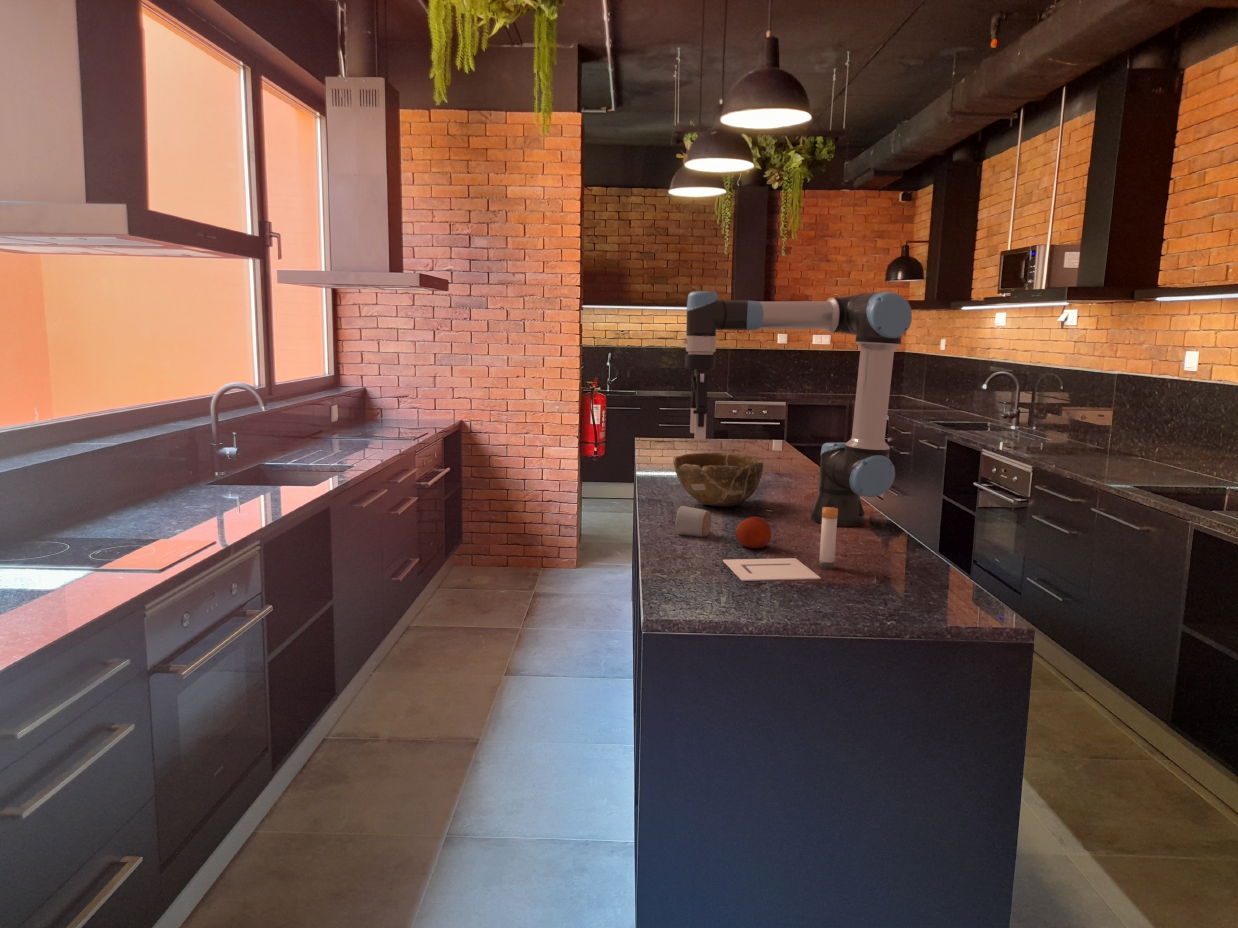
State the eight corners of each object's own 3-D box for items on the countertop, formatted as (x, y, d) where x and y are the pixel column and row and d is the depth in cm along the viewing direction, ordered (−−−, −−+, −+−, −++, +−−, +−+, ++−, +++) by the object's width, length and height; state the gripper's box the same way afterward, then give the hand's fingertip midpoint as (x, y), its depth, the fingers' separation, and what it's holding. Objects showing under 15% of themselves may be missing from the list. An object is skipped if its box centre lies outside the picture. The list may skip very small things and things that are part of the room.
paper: (795, 559, 203) (795, 557, 203) (820, 579, 187) (820, 577, 187) (722, 560, 200) (722, 559, 200) (742, 580, 185) (742, 579, 185)
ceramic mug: (704, 540, 219) (705, 511, 218) (674, 536, 222) (675, 508, 221) (714, 532, 229) (715, 504, 228) (685, 528, 232) (686, 501, 231)
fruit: (748, 540, 220) (750, 510, 219) (777, 547, 214) (778, 516, 212) (727, 546, 214) (728, 515, 212) (756, 553, 207) (757, 522, 206)
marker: (830, 564, 199) (834, 506, 197) (836, 569, 195) (840, 510, 193) (816, 565, 198) (820, 507, 196) (822, 569, 195) (825, 510, 193)
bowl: (699, 518, 244) (701, 467, 242) (658, 500, 269) (659, 453, 266) (779, 512, 255) (782, 463, 253) (733, 495, 280) (735, 450, 277)
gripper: (682, 351, 227) (679, 430, 230) (689, 354, 202) (686, 442, 206) (710, 352, 227) (707, 430, 230) (720, 355, 202) (717, 443, 206)
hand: (697, 436), depth 218 cm, fingers open, 13 cm apart
